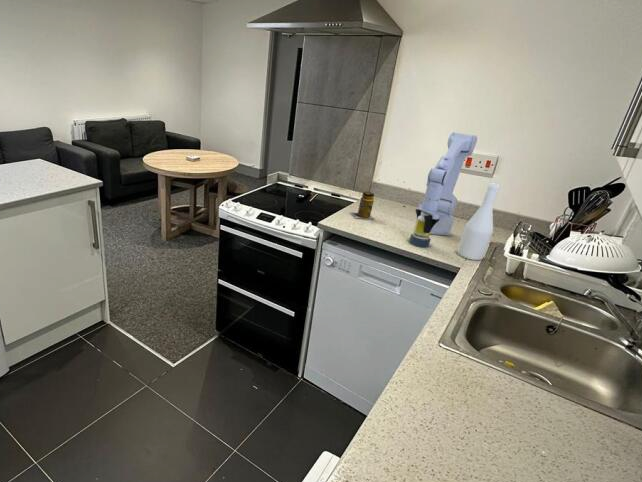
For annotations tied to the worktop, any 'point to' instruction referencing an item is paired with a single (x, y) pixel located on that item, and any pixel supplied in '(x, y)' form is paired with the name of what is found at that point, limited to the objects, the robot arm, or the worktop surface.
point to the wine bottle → (479, 228)
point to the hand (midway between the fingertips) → (422, 229)
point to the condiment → (365, 206)
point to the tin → (419, 241)
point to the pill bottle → (421, 227)
